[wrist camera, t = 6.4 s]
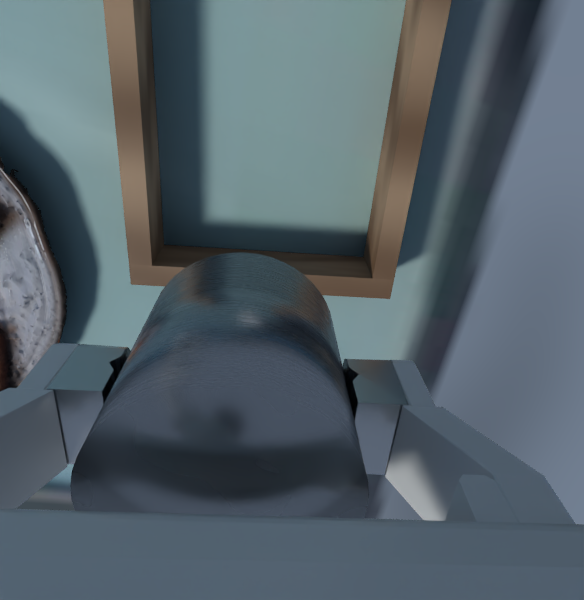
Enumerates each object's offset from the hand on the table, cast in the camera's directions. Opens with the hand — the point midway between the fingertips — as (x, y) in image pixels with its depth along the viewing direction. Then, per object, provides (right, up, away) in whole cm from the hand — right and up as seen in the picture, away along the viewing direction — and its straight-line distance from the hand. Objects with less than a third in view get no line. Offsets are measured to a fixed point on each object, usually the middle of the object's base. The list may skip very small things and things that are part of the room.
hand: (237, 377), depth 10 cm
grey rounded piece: (0, +1, +1) cm, 2 cm away
